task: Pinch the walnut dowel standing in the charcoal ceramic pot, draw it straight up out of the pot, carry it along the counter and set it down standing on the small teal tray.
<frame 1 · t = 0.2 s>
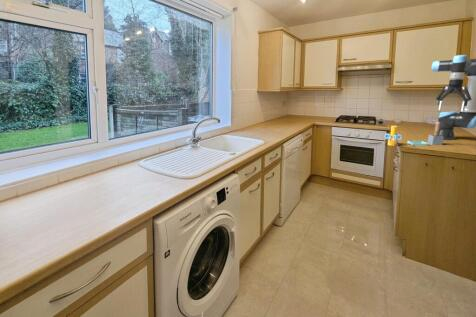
hand: (451, 110, 194), 28 cm above the countertop, fingers open, 13 cm apart
yellow and blue toy: (392, 145, 215), on the countertop
dowel: (434, 143, 213), point 1 cm above the countertop, touching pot
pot: (434, 145, 213), on the countertop
tray: (417, 145, 213), on the countertop
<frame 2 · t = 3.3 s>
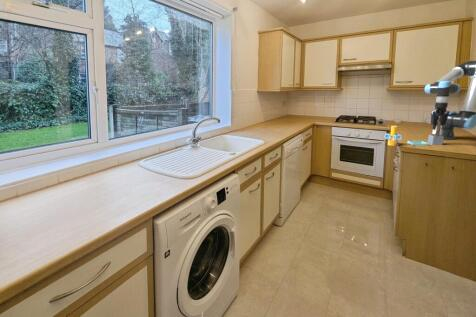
hand: (436, 133, 211), 9 cm above the countertop, fingers closed on dowel, 3 cm apart
dowel: (434, 143, 213), point 1 cm above the countertop, touching gripper, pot
everything else where it was.
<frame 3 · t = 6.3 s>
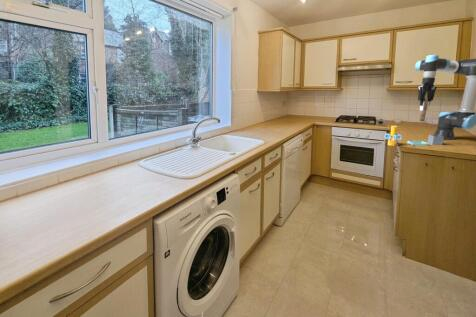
hand: (423, 110, 206), 27 cm above the countertop, fingers closed on dowel, 3 cm apart
dowel: (422, 120, 208), point 19 cm above the countertop, touching gripper
everything else where it was.
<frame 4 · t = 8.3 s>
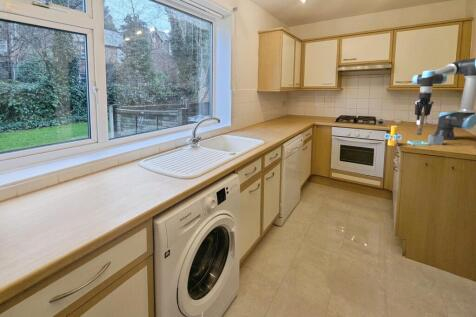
hand: (420, 124, 209), 16 cm above the countertop, fingers closed on dowel, 3 cm apart
dowel: (418, 134, 211), point 8 cm above the countertop, touching gripper
everything else where it was.
when the fingers open (10 cm above the countertop, at t = 9.8 s): dowel drops 1 cm, resting on tray.
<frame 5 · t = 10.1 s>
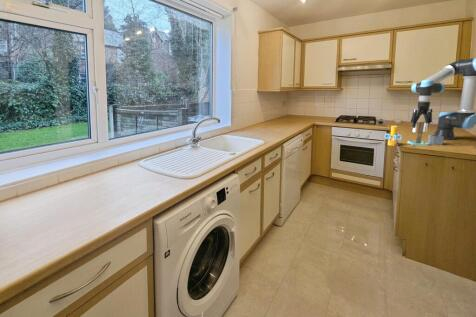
hand: (419, 131, 210), 11 cm above the countertop, fingers open, 8 cm apart
dowel: (417, 144, 213), point 1 cm above the countertop, touching tray
everything else where it was.
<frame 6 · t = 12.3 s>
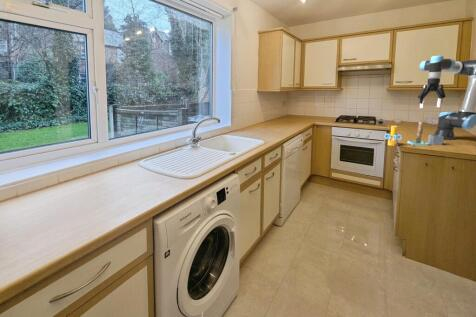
hand: (430, 107, 207), 29 cm above the countertop, fingers open, 13 cm apart
nothing on the countertop moved.
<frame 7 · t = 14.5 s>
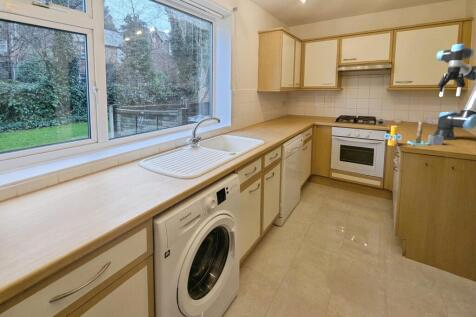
hand: (449, 96, 208), 37 cm above the countertop, fingers open, 13 cm apart
nothing on the countertop moved.
at the end: dowel inside the target area on the tray (0.0 cm from its centre), point 1.0 cm above the tray's base; dowel touching tray; the gripper is holding nothing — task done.
